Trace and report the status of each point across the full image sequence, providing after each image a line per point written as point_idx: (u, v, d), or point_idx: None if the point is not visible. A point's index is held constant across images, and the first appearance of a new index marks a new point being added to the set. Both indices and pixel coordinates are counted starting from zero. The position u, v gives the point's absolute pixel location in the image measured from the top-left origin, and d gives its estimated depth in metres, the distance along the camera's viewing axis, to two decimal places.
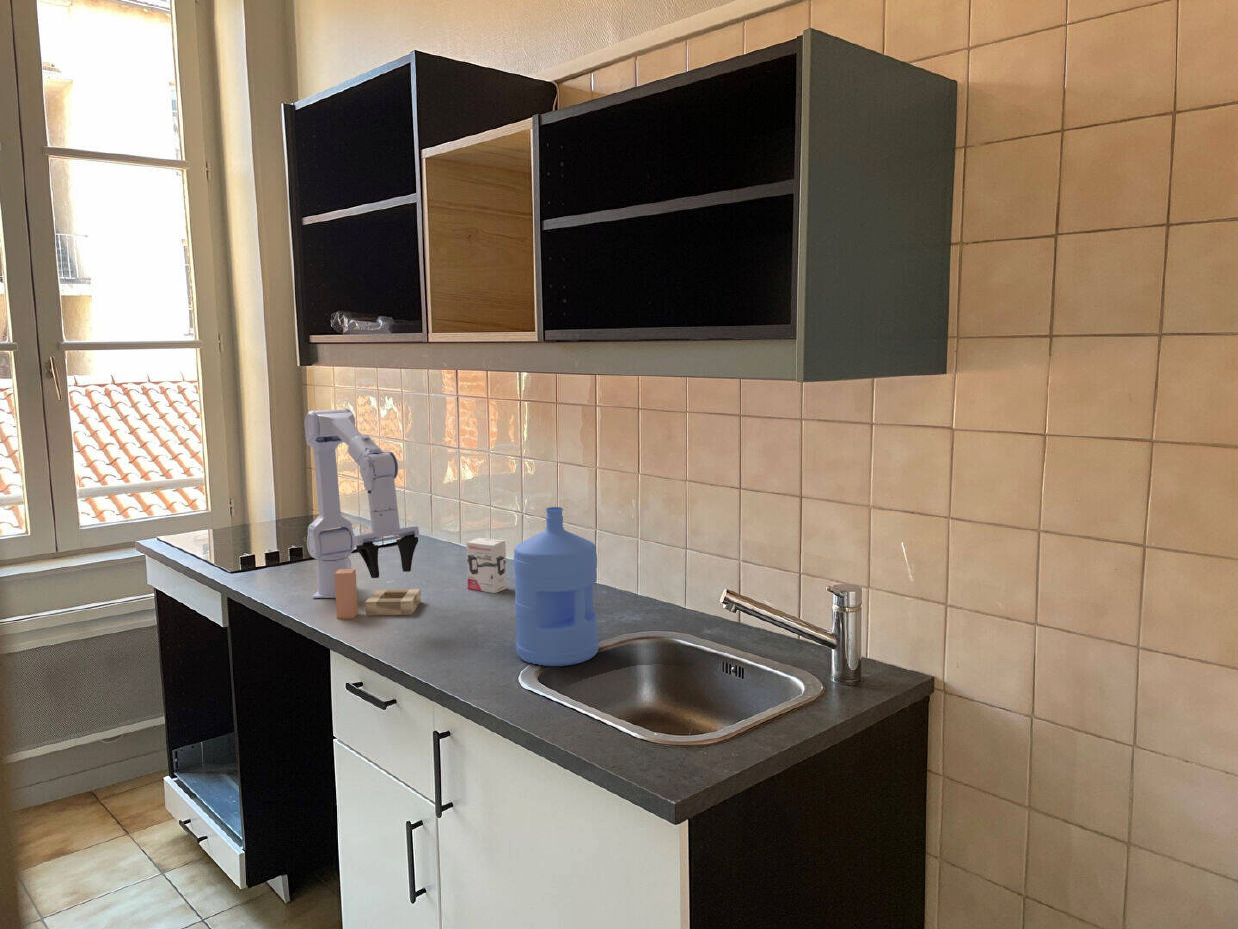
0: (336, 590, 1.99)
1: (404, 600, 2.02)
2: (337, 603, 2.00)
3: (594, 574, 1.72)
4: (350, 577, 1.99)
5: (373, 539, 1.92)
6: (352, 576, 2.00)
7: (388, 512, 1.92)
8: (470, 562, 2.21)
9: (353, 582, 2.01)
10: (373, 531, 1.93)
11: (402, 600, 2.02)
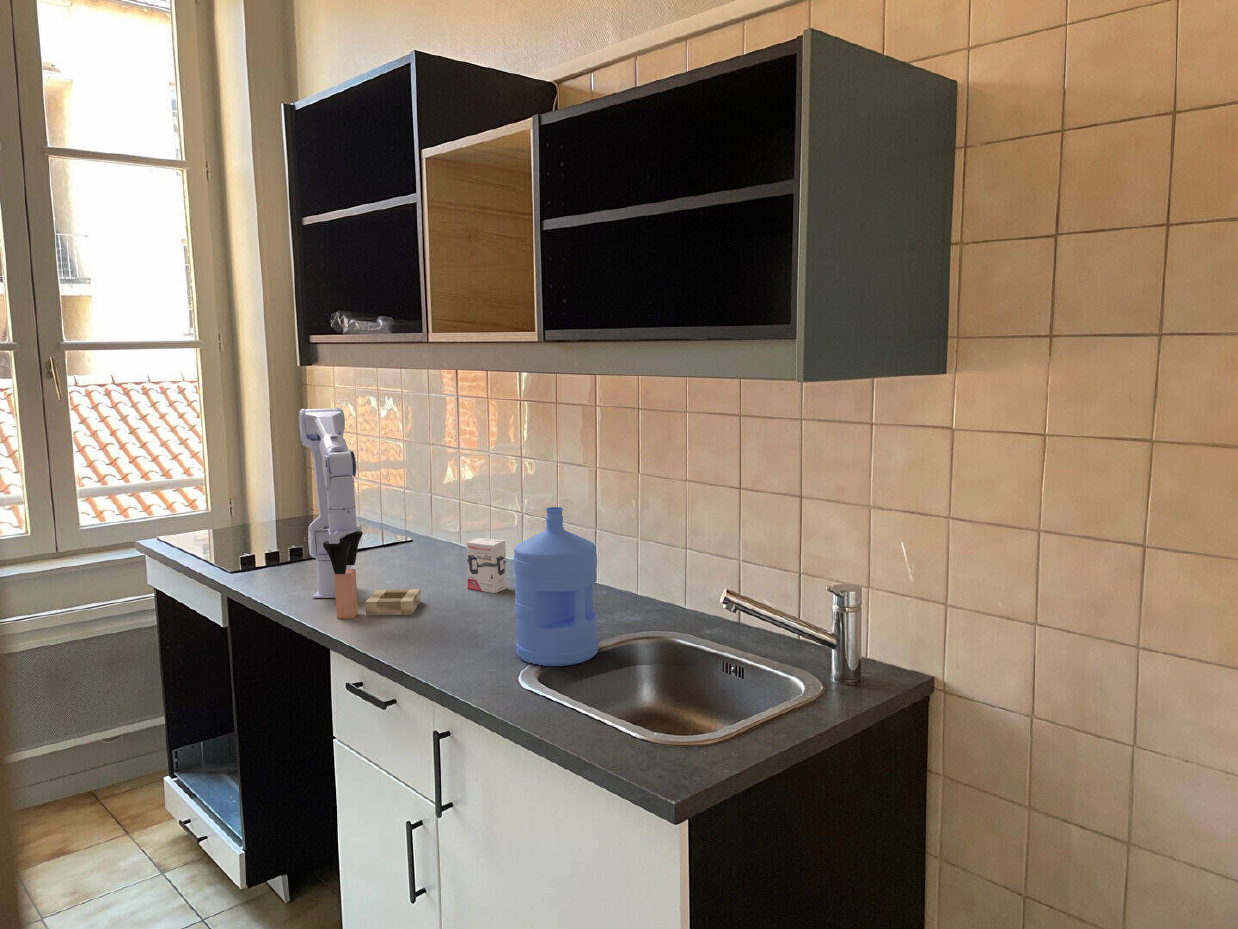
0: (336, 590, 1.99)
1: (404, 600, 2.02)
2: (337, 603, 2.00)
3: (594, 574, 1.72)
4: (350, 577, 1.99)
5: (340, 536, 1.96)
6: (352, 576, 2.00)
7: (354, 509, 1.98)
8: (470, 562, 2.21)
9: (353, 582, 2.01)
10: (337, 528, 1.96)
11: (402, 600, 2.02)
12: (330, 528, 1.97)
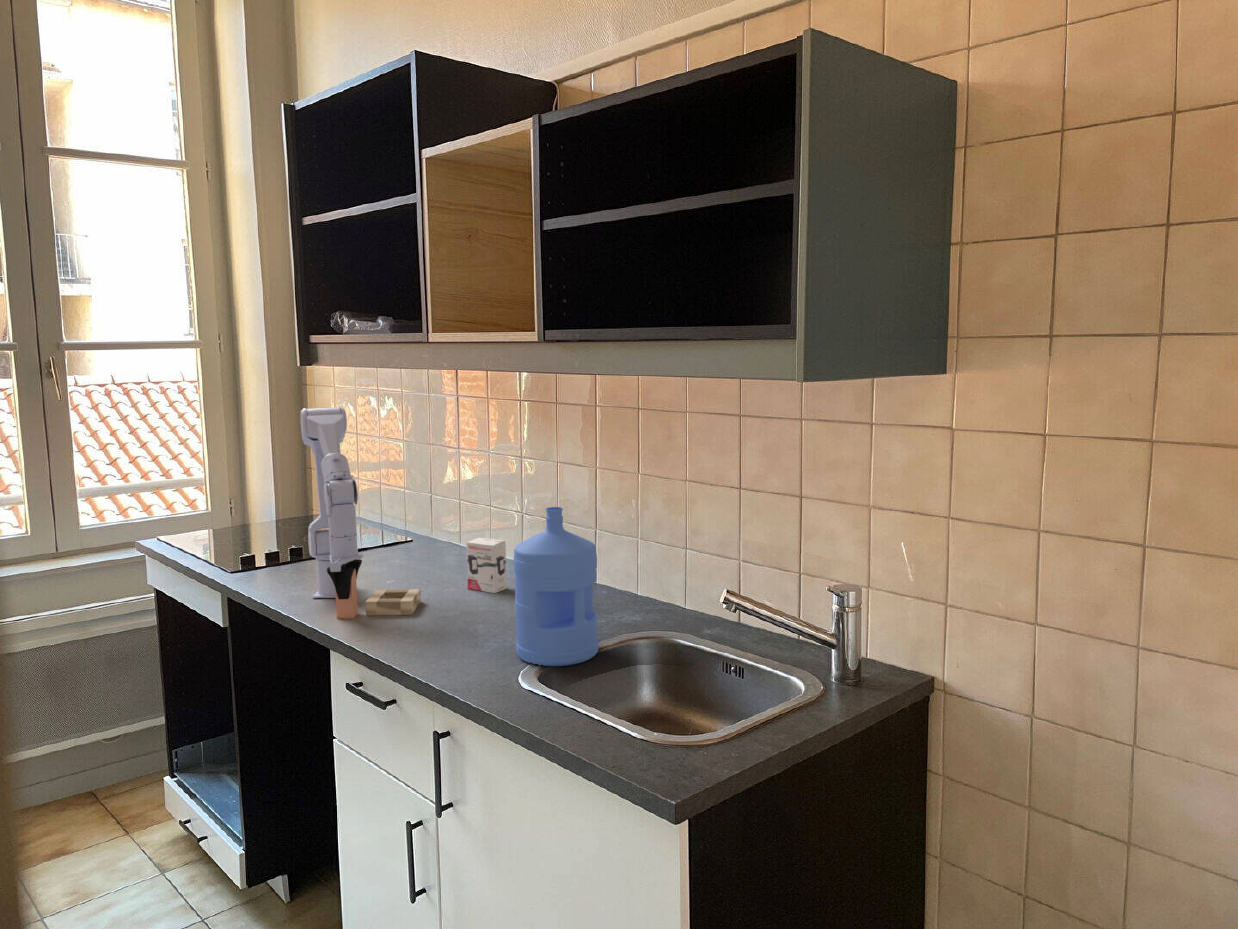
0: None
1: (404, 600, 2.02)
2: (337, 603, 2.00)
3: (594, 574, 1.72)
4: None
5: None
6: (352, 576, 2.00)
7: (355, 537, 1.99)
8: (470, 562, 2.21)
9: (353, 582, 2.01)
10: (339, 556, 1.97)
11: (402, 600, 2.02)
12: (331, 555, 1.98)
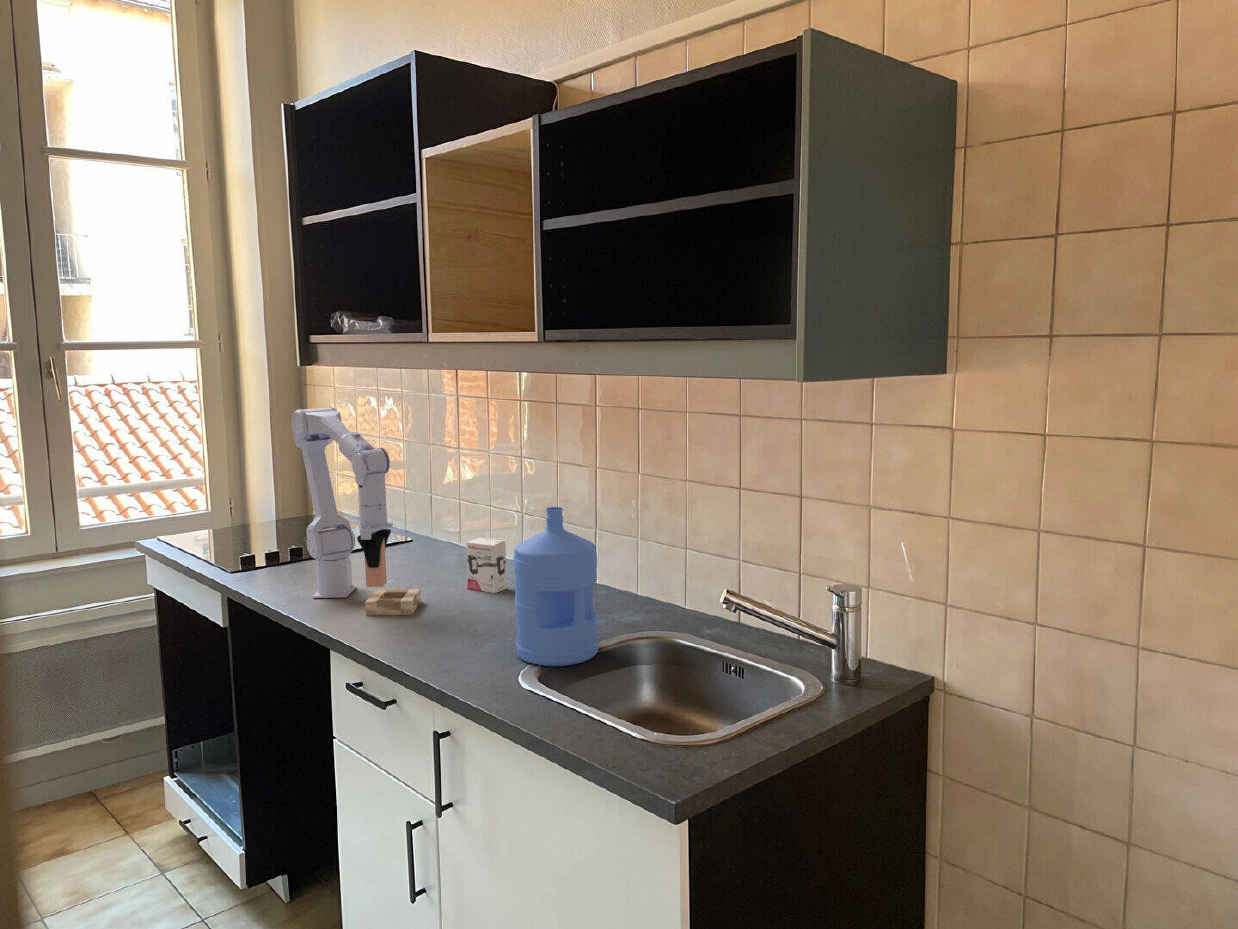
0: None
1: (404, 600, 2.02)
2: (366, 572, 2.02)
3: (594, 574, 1.72)
4: None
5: (371, 532, 1.99)
6: None
7: (385, 506, 2.01)
8: (470, 562, 2.21)
9: (382, 551, 2.03)
10: (369, 524, 2.00)
11: (402, 600, 2.02)
12: (362, 524, 2.01)
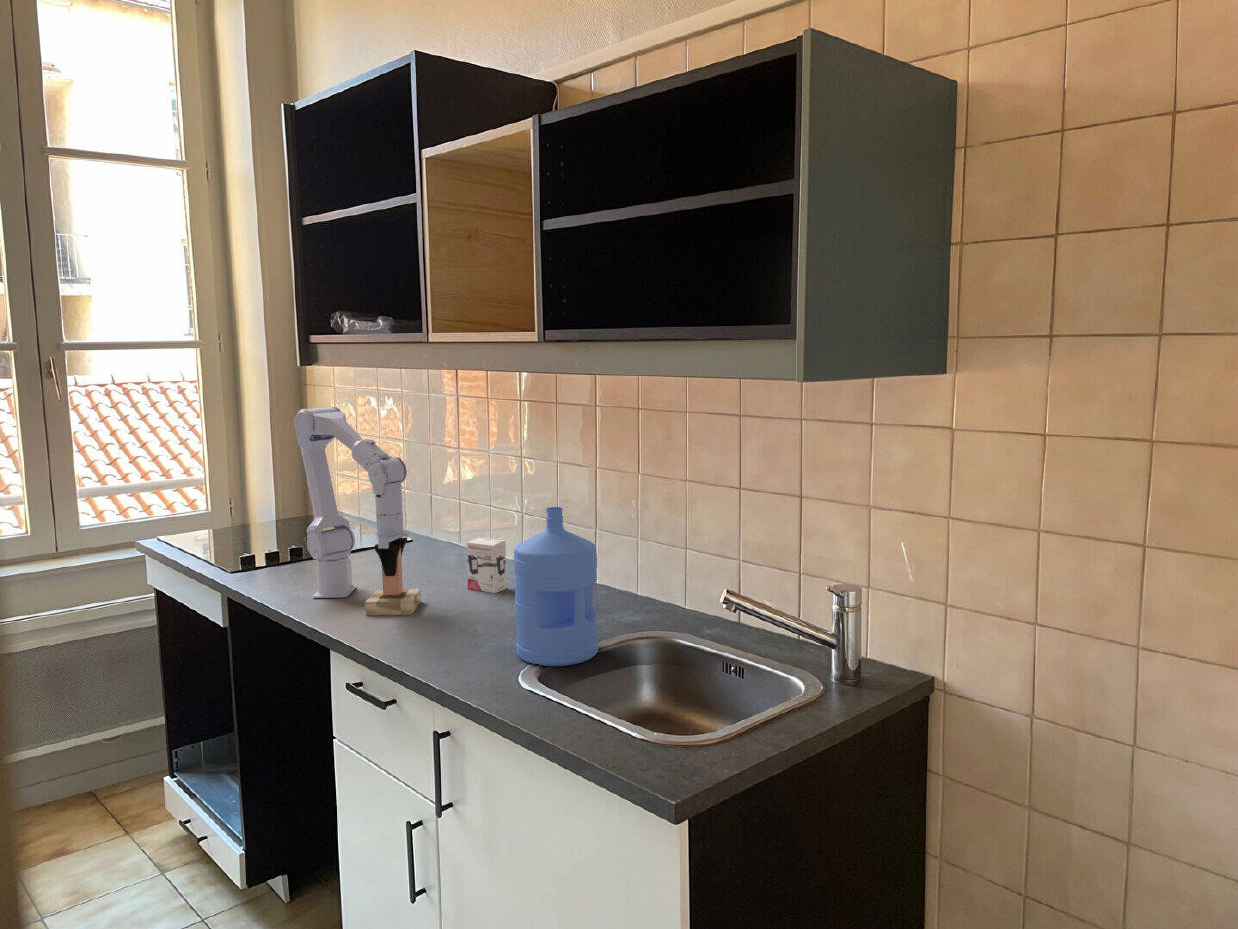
0: None
1: (404, 600, 2.02)
2: (383, 580, 2.04)
3: (594, 574, 1.72)
4: None
5: (388, 541, 2.02)
6: None
7: (401, 515, 2.04)
8: (470, 562, 2.21)
9: (399, 559, 2.05)
10: (386, 533, 2.02)
11: (402, 600, 2.02)
12: (378, 533, 2.03)
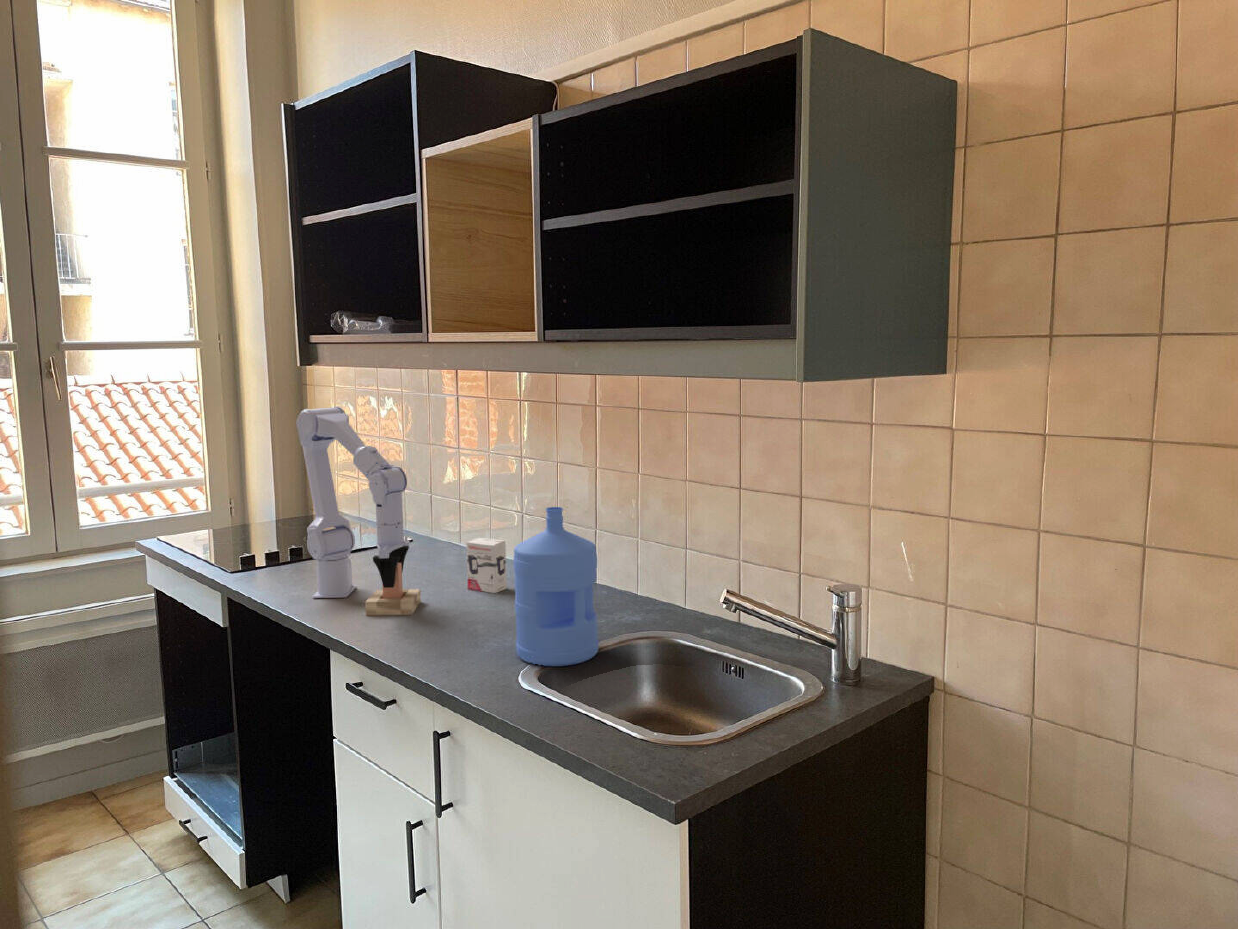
0: None
1: (404, 600, 2.02)
2: (384, 596, 2.05)
3: (594, 574, 1.72)
4: (397, 570, 2.04)
5: None
6: (399, 569, 2.05)
7: (402, 524, 2.04)
8: (470, 562, 2.21)
9: (399, 575, 2.06)
10: (386, 543, 2.02)
11: (402, 600, 2.02)
12: (379, 543, 2.03)
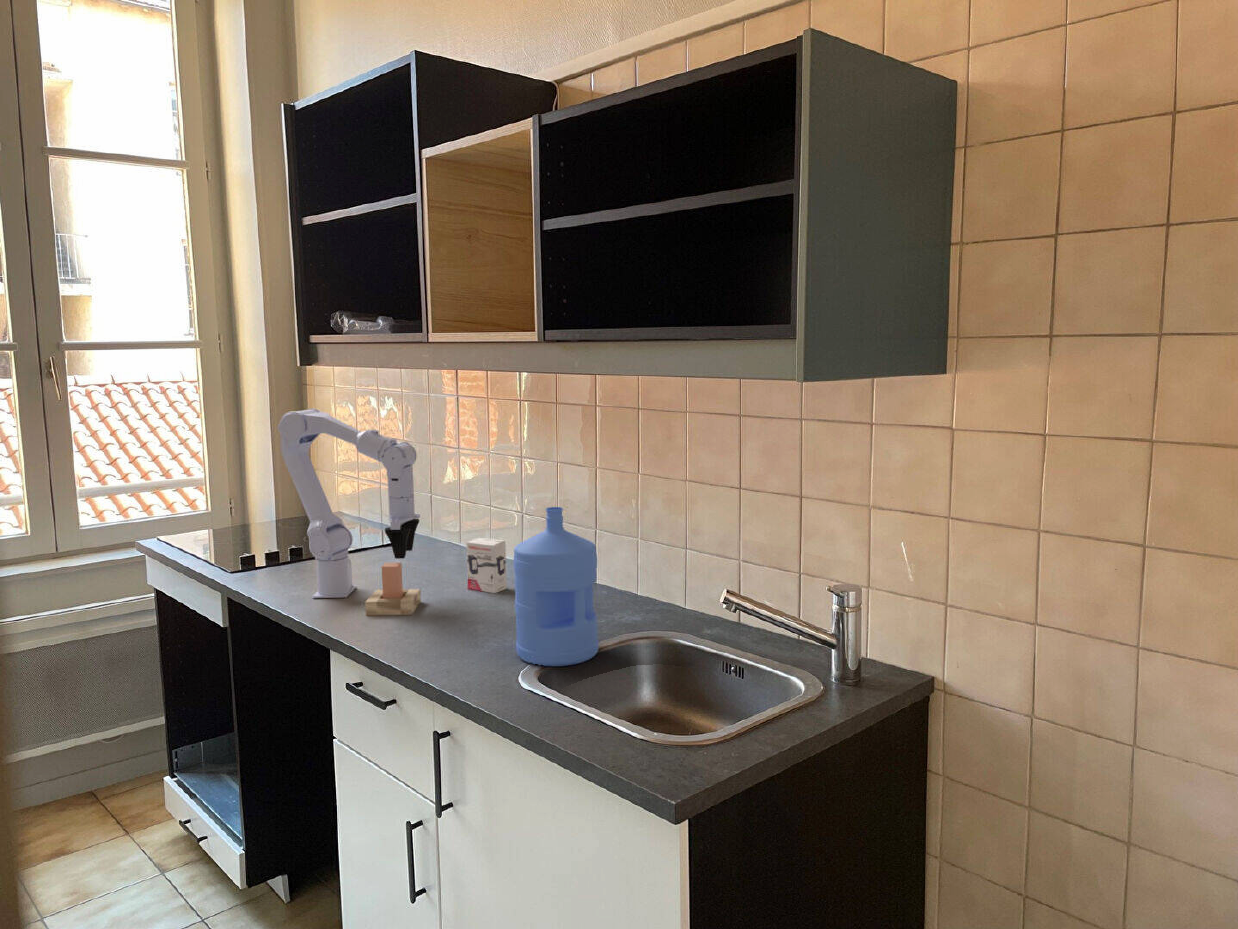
0: (384, 583, 2.04)
1: (404, 600, 2.02)
2: (384, 596, 2.05)
3: (594, 574, 1.72)
4: (397, 570, 2.04)
5: None
6: (399, 569, 2.05)
7: (412, 498, 2.11)
8: (470, 562, 2.21)
9: (399, 575, 2.06)
10: (397, 515, 2.10)
11: (402, 600, 2.02)
12: (391, 515, 2.11)
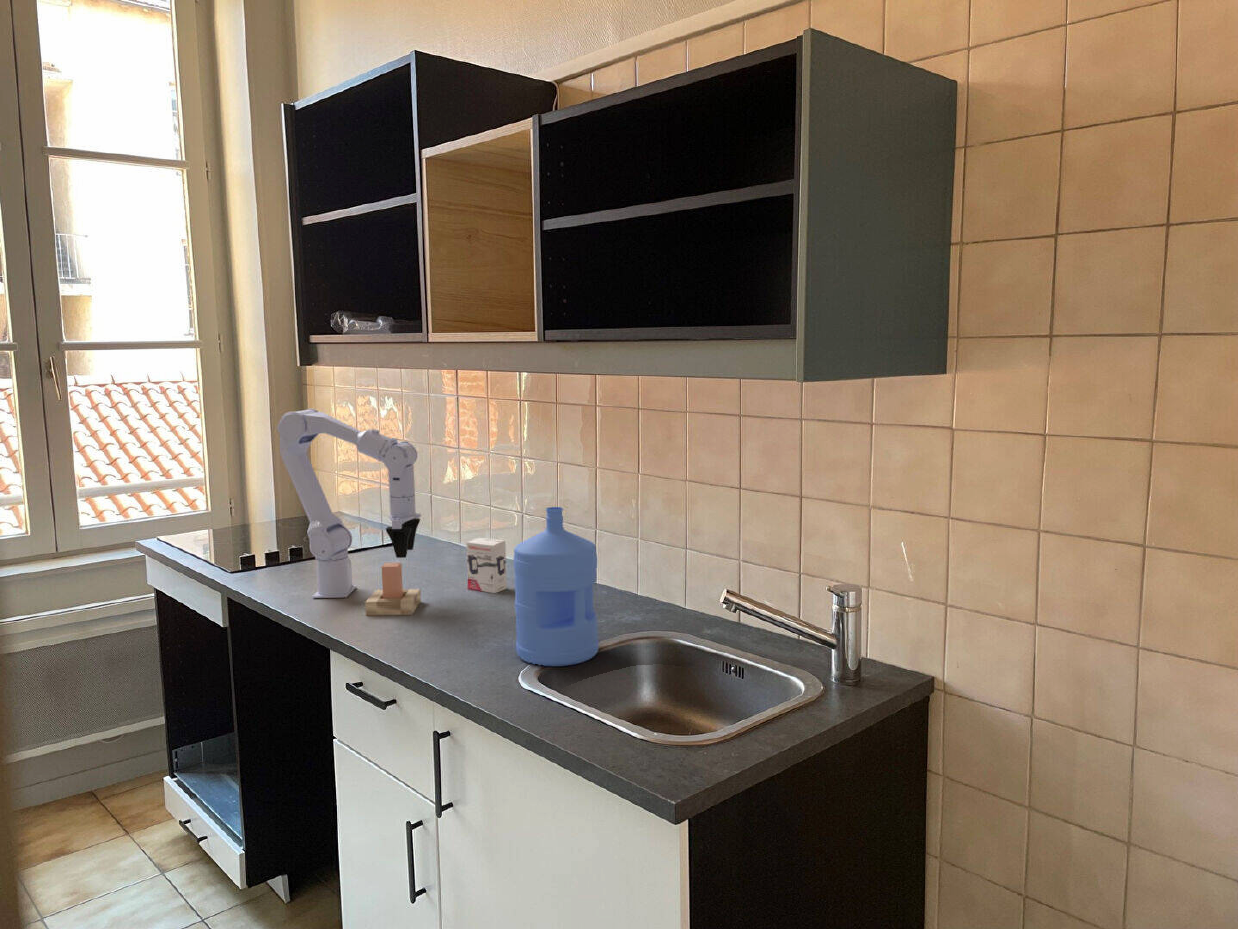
0: (384, 583, 2.04)
1: (404, 600, 2.02)
2: (384, 596, 2.05)
3: (594, 574, 1.72)
4: (397, 570, 2.04)
5: None
6: (399, 569, 2.05)
7: (413, 497, 2.12)
8: (470, 562, 2.21)
9: (399, 575, 2.06)
10: (399, 515, 2.10)
11: (402, 600, 2.02)
12: (392, 515, 2.11)
